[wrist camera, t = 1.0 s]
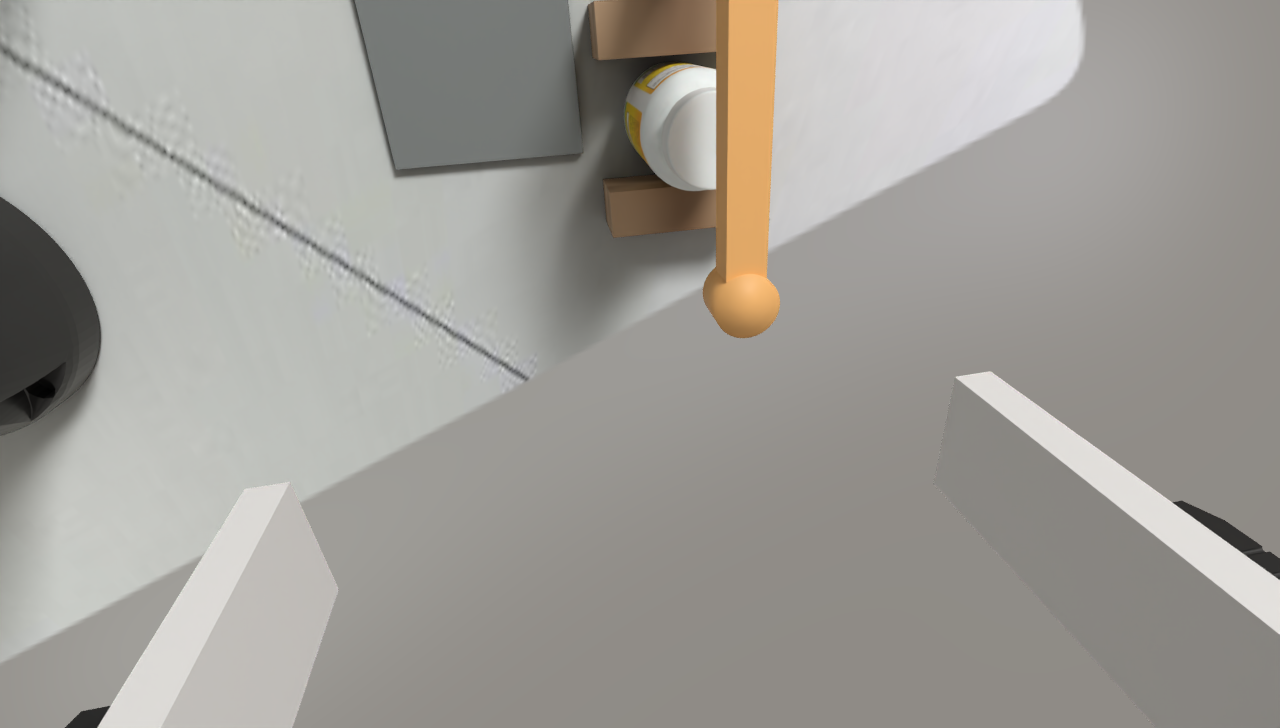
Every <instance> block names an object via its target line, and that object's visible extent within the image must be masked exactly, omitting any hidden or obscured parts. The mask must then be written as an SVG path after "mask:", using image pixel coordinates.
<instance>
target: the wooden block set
mask: <svg viewBox="0 0 1280 728" xmlns="http://www.w3.org/2000/svg"><path fill="white" fill-rule="evenodd" d="M588 12H589V24H590V35H591V47H592V58H594V59H597V60H609V59H623V58H637V57H651V56H665V55H678V54H692V53H706V52H716V0H607V1H594V2H592V3H590V4H589V5H588ZM603 186H604V197H605V209H606V221H607V223H608V226H609V228H610V231H611V233H612V236H613V238H617V237H626V236H636V235H646V234H655V233H665V232H675V231H684V230H694V229H703V228H713V227H716V190H702V191H686V190H681V189H678V188H675V187H673V186H671V185H669V184H667V183H666V182H664V181H663V180H662V179H661V178H659V177H658V176H657V175H656V174H655V175H644V176H633V177H622V178H612V179H603Z"/></svg>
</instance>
